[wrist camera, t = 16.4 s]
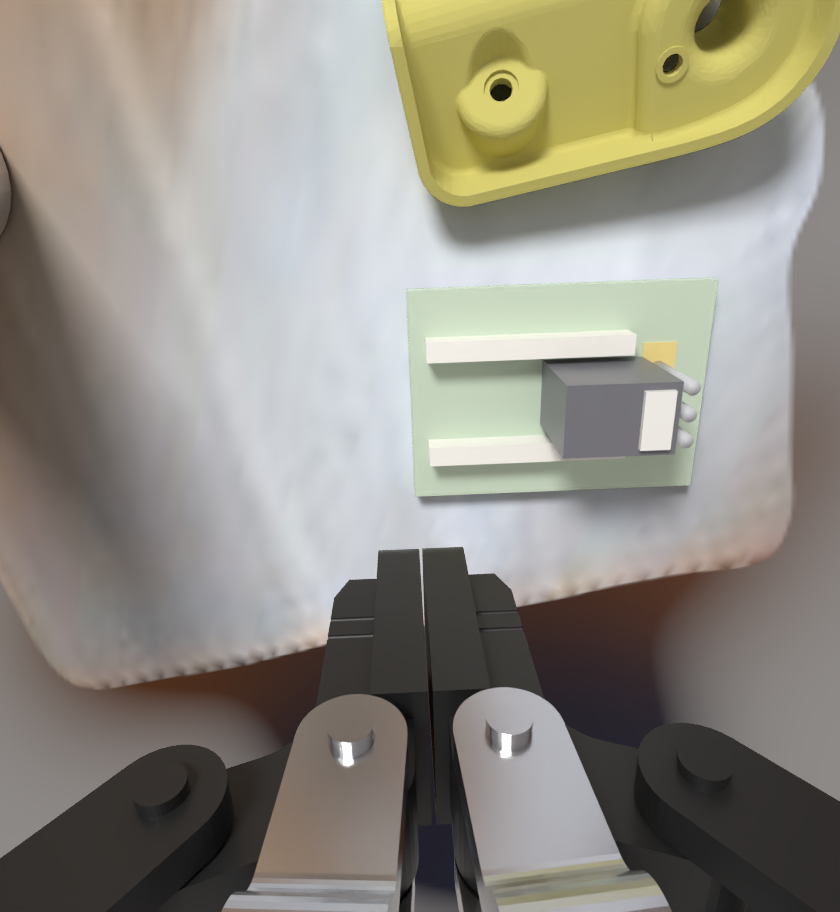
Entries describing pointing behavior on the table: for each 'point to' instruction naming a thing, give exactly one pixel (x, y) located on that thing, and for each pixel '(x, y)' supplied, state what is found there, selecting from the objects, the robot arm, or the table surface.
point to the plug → (610, 407)
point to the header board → (520, 378)
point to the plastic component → (590, 83)
